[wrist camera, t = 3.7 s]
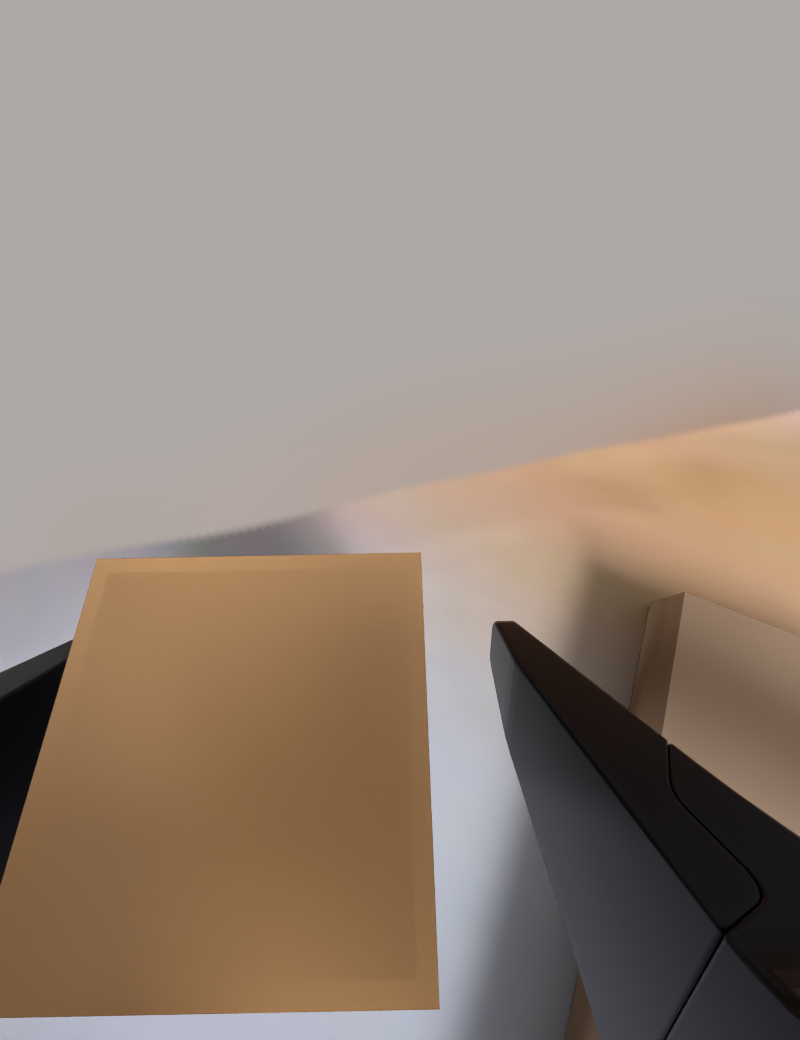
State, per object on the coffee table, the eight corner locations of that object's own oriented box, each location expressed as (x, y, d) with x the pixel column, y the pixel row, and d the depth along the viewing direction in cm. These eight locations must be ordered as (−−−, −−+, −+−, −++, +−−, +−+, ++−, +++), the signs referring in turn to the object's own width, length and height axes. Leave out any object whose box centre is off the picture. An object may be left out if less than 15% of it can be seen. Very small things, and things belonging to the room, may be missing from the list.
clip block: (413, 774, 13) (440, 1010, 4) (279, 777, 13) (-38, 1018, 4) (409, 635, 14) (420, 552, 5) (292, 638, 14) (97, 559, 5)
